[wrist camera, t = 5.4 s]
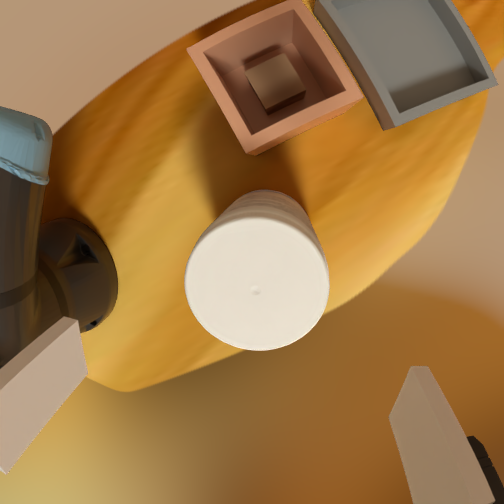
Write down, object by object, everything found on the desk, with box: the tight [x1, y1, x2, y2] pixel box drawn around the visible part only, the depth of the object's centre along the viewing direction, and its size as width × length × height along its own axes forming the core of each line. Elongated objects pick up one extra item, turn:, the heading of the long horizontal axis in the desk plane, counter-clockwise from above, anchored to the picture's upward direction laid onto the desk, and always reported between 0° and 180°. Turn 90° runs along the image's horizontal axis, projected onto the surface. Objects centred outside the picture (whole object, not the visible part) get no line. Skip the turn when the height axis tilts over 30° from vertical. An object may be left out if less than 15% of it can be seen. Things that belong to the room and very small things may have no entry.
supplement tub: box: [184, 190, 329, 350], centre depth 27 cm, size 10×10×15 cm
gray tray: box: [313, 0, 498, 130], centre depth 24 cm, size 15×15×4 cm
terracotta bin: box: [186, 0, 364, 156], centre depth 25 cm, size 10×10×9 cm
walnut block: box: [244, 53, 307, 115], centre depth 27 cm, size 4×4×4 cm
